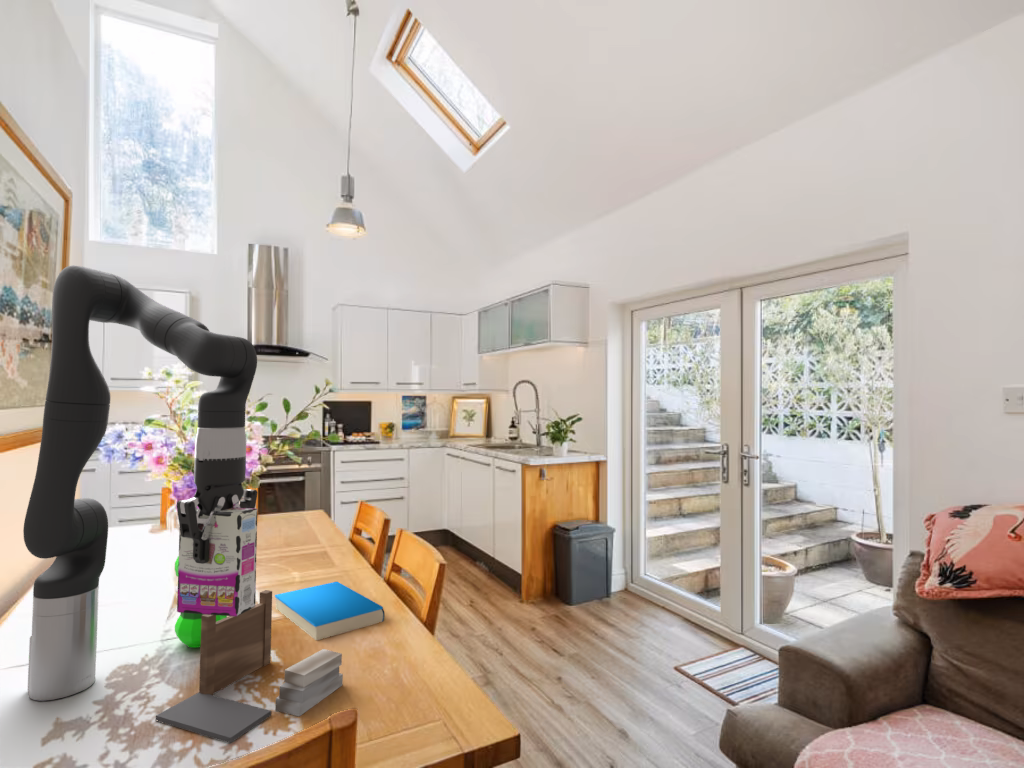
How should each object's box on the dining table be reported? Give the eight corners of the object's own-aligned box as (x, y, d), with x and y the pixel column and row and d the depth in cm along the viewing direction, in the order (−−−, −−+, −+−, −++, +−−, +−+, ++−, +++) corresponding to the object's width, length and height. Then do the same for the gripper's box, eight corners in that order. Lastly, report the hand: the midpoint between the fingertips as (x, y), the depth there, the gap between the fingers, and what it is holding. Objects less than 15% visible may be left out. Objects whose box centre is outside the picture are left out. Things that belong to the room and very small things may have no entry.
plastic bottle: (238, 638, 120) (241, 522, 121) (190, 657, 111) (194, 532, 112) (210, 629, 125) (213, 517, 126) (162, 646, 116) (166, 526, 117)
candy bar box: (257, 606, 92) (259, 507, 93) (237, 618, 87) (240, 513, 88) (197, 602, 94) (200, 505, 94) (174, 613, 89) (178, 510, 90)
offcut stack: (275, 710, 92) (276, 673, 92) (320, 679, 102) (321, 647, 103) (300, 716, 90) (301, 679, 91) (343, 685, 101) (344, 651, 101)
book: (315, 625, 119) (273, 593, 138) (315, 645, 119) (273, 611, 138) (385, 605, 131) (338, 579, 149) (385, 624, 131) (338, 595, 149)
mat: (155, 720, 89) (155, 715, 89) (199, 696, 96) (199, 691, 96) (230, 743, 83) (230, 737, 83) (270, 715, 91) (271, 710, 91)
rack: (199, 697, 96) (201, 615, 97) (264, 661, 110) (266, 589, 110) (205, 699, 95) (208, 617, 96) (270, 662, 109) (272, 591, 110)
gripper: (239, 450, 100) (236, 545, 99) (163, 457, 86) (160, 567, 85) (271, 452, 97) (269, 549, 96) (199, 459, 83) (195, 572, 83)
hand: (217, 557), depth 91 cm, fingers closed on candy bar box, 5 cm apart
